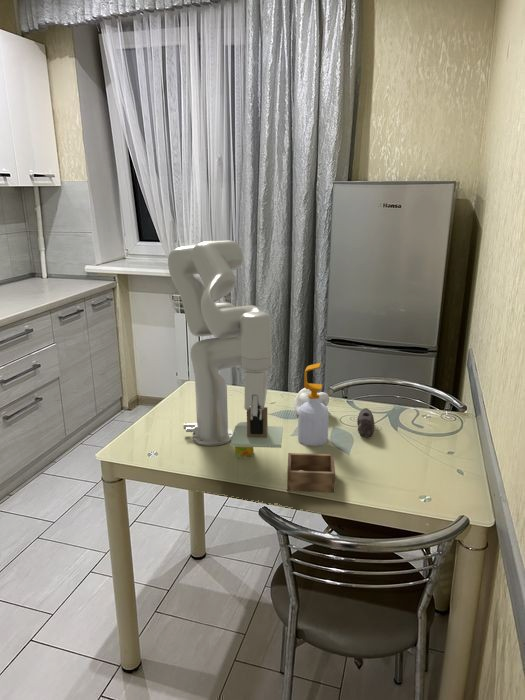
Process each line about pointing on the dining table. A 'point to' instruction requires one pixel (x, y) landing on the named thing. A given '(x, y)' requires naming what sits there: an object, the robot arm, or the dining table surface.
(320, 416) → the soap bottle
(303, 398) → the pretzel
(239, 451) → the supplement bottle
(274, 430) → the lid
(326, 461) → the box
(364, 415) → the perforated stone tool
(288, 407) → the dining table surface
